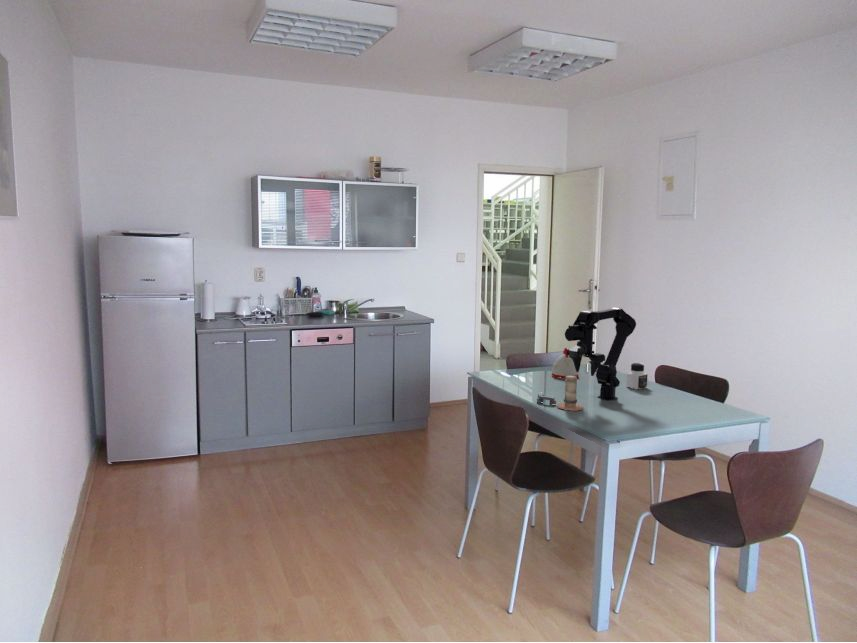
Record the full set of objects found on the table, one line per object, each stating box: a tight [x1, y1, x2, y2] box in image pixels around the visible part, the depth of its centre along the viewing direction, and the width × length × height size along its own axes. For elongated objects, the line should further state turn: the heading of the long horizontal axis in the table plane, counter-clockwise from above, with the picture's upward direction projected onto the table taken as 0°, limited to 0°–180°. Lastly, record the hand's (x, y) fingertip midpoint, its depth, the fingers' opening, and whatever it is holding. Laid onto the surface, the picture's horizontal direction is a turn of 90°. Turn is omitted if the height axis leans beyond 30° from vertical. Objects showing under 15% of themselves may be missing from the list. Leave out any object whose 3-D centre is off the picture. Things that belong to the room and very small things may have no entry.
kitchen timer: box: [551, 347, 579, 379], centre depth 339 cm, size 14×14×15 cm
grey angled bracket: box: [536, 391, 557, 405], centre depth 286 cm, size 7×13×3 cm, turn 30°
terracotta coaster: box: [556, 402, 584, 412], centre depth 278 cm, size 11×11×1 cm
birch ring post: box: [563, 376, 578, 408], centre depth 277 cm, size 6×6×13 cm
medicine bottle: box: [625, 362, 649, 390], centre depth 315 cm, size 7×7×12 cm
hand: (584, 373), depth 285 cm, fingers open, 9 cm apart
